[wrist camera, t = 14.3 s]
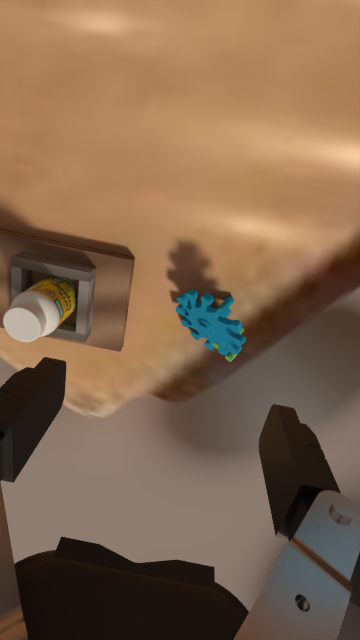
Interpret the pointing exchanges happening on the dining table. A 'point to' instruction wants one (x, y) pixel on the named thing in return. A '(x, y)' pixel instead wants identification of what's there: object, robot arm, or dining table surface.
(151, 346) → the dining table surface
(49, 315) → the supplement bottle
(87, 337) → the socket stand
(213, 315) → the gear
